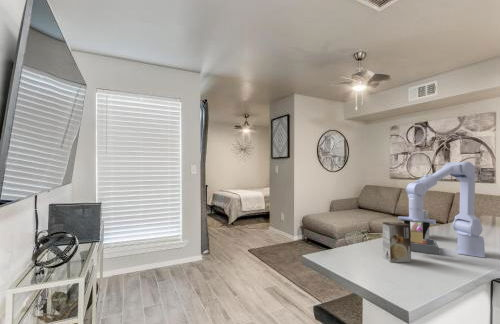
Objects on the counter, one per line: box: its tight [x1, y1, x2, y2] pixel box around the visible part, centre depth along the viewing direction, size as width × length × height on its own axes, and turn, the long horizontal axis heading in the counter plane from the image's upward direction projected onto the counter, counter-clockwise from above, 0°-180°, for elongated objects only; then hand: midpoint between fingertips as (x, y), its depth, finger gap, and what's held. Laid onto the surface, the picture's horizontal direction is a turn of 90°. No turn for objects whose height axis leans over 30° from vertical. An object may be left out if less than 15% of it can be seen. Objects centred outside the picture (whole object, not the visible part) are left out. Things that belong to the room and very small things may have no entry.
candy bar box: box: [410, 209, 430, 239], centre depth 147 cm, size 11×5×16 cm, turn 179°
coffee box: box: [381, 221, 412, 263], centre depth 110 cm, size 9×6×16 cm
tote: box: [410, 238, 440, 256], centre depth 125 cm, size 14×14×4 cm
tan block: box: [410, 230, 423, 243], centre depth 115 cm, size 5×5×4 cm
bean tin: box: [414, 239, 427, 245], centre depth 125 cm, size 5×5×5 cm
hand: (416, 238), depth 115 cm, fingers closed on tan block, 5 cm apart
